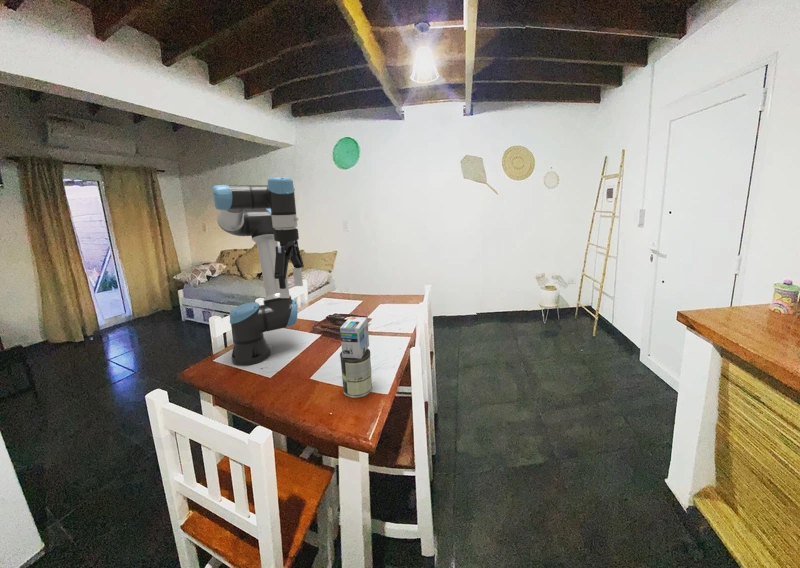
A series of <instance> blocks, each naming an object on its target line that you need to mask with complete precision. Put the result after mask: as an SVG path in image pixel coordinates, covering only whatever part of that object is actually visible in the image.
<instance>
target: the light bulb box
mask: <svg viewBox="0 0 800 568" xmlns="http://www.w3.org/2000/svg"><path fill="white" fill-rule="evenodd" d="M339 332H340V333H339V334H340V344H341V345H340V346H341V352H342V357H343V358H358V359H361V358H362V356H363V355H364V353H365V351H366V350H367V348H368V349H369V347H370V336H369V318H368V317H362V316H361V317H359V316H349V317H348V318H347V320H346V321H345V322H344V323H343V324H342V325H341V326H340V327H339Z"/></svg>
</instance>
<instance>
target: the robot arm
mask: <svg viewBox="0 0 800 568" xmlns="http://www.w3.org/2000/svg"><path fill="white" fill-rule="evenodd" d="M294 186H295V185H294V180H293V179H292V178H290V177H277V176H276V177H269V178H268V179H267V184H264V185H263V184H262V185H260V184H256V185H255V184H253V185H252V184H251V185H250V184H218V185H214V186H212V188H211V189H212V198H213V202H214V207H215V209H216V210H219V212H218V213H217V216H216V217H217V219H216V220H217V225H218V226H219V227H220V228H221V230H222V231H224V232H226V233H228V234H230V235H233V236H237V237H251V240H252V241H253V242H254V243H255V244H256V247H257V252H258V257H259V263H260V270H261V273H262V280H263V285H264V291H265V298H264V299H263V304H259V302H256V301H253V302H247V303H242V304H240V305H237V306H235V307H233V308H231V310H230V312H229V324H230V326H231V333H232V334H231V335H232V340H233V348H232V353H231V361H232V364H234V365H236V366H251V365H255V364H259V363H261V362H263V361H265V360H267V359H269V358H270V356H271V349H270V346H269V344H268V343H267V341H266V339H265V337H264V336H265V335H264V333H265V332H271V331H275V330H280V329H286V328H289V327H293V326H295V325H296V323H297V320H298V304H297V301H296V299H292V295H291V294H290V288H289V278H288V277H287V273H288V268H289V264H290V263H289V261H290V262H291V264H292V265H293V268H292V272H293V282H294V287H303V285H304V283H303V282H304V281H303V274H302V273H303V272H302V268H304V265H305V264H304V261H303V259H302V254H301V251H300V250H301V249H300V248H299V242H298V240H299V239H300V237H299V236H300V235H299V229H298V228H297V227H298V221H299V217H297V206H296V196H295V187H294ZM278 243H279V245H278Z"/></svg>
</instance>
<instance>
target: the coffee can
mask: <svg viewBox="0 0 800 568" xmlns="http://www.w3.org/2000/svg"><path fill="white" fill-rule="evenodd" d="M339 357H340V366H341V367H340V369H341V378H342V381H341V382H342V389H343V390H342V392H343V394H344V395H345V396H346V397H348V398H353V399H356V398H364V397H366V396H368V395H369V394H370V393H371V392H372V390H373V382H372V367H371V366H372V364H371V350H370V349H369V347H368V348H367V350H366V351H365V353H364V355H363V356H362V358H361V359H358V358H343V357H342V351H340V353H339Z"/></svg>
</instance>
